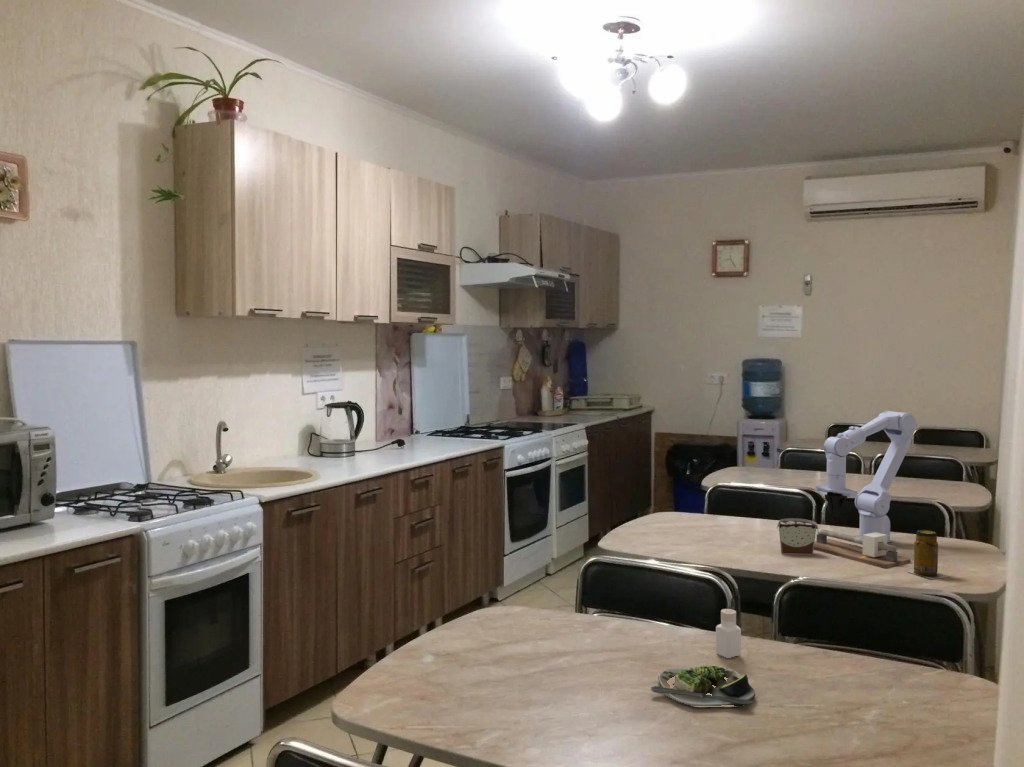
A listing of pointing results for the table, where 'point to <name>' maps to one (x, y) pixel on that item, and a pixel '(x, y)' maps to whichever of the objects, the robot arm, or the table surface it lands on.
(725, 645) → the salt shaker
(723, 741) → the table surface
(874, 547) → the collar
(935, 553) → the condiment
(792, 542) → the food container
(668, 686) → the salad plate
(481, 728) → the table surface
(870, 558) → the wooden slider rail
